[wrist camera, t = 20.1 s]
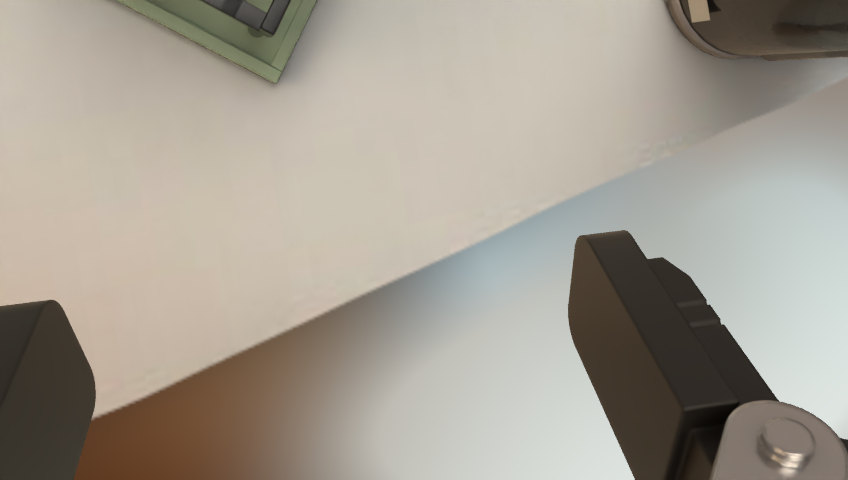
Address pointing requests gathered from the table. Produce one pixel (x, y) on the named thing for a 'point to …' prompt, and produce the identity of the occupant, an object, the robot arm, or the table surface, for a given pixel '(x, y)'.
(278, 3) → the drying rack
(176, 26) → the drip tray
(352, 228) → the table surface
